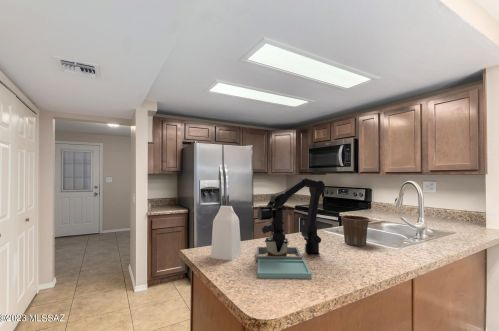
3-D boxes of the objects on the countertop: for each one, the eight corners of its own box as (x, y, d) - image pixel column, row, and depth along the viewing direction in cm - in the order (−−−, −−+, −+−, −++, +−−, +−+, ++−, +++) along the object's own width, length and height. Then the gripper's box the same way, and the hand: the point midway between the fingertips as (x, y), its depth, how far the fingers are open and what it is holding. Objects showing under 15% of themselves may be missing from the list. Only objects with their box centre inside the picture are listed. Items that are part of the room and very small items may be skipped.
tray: (304, 264, 120) (304, 259, 120) (311, 278, 103) (311, 273, 103) (258, 263, 122) (258, 259, 122) (257, 277, 105) (257, 272, 105)
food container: (291, 256, 131) (290, 237, 132) (288, 260, 126) (288, 240, 126) (268, 254, 135) (267, 235, 136) (264, 258, 130) (264, 238, 130)
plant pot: (375, 244, 154) (374, 217, 155) (360, 249, 144) (359, 220, 145) (351, 239, 167) (350, 214, 168) (336, 243, 158) (335, 217, 158)
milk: (211, 257, 131) (211, 207, 132) (221, 251, 141) (221, 204, 142) (232, 260, 126) (232, 207, 128) (241, 253, 137) (240, 205, 138)
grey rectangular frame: (297, 252, 138) (297, 247, 138) (302, 263, 121) (302, 257, 122) (257, 252, 140) (257, 246, 140) (256, 262, 123) (256, 256, 123)
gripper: (262, 216, 141) (262, 244, 140) (262, 222, 122) (262, 255, 122) (282, 216, 140) (282, 244, 140) (285, 222, 122) (285, 255, 121)
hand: (278, 249), depth 131 cm, fingers open, 8 cm apart
